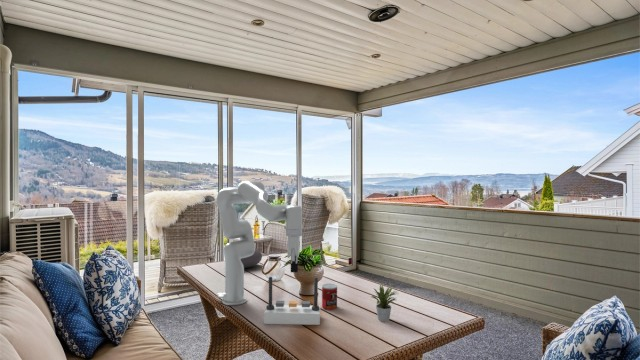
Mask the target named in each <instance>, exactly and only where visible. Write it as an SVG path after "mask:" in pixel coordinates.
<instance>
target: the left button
mask: <svg viewBox="0 0 640 360" xmlns="http://www.w3.org/2000/svg"><path fill="white" fill-rule="evenodd" d="M275 305H276V307H284V305H285V300H276V302H275Z"/></svg>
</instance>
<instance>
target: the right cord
mask: <svg viewBox="0 0 640 360" xmlns="http://www.w3.org/2000/svg"><path fill="white" fill-rule="evenodd" d="M318 283H319V279H318V277H314V278H313V305H311V306H312V310H313V311H319V310H320V311H321V306H320V305H318V300H319V299H318V297H319V295H318V290H319V288H318V286H319V284H318ZM319 306H320V307H319Z"/></svg>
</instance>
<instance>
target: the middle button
mask: <svg viewBox="0 0 640 360" xmlns="http://www.w3.org/2000/svg"><path fill="white" fill-rule="evenodd" d="M288 305H289V307H297V305H298V300H289V302H288Z"/></svg>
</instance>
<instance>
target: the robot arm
mask: <svg viewBox="0 0 640 360" xmlns="http://www.w3.org/2000/svg"><path fill="white" fill-rule="evenodd" d="M268 199H269V194H268V192H267V191H266V188H265V185H264V183H262V181H259V180H244V181H241V182H240V183H239V184H238V186H237V187H226V188H225V187H224V188H222V189H221V190H219V191H218V192H217V195H216V207H217V209H218V212H219V215H220V220H221V227H222V232H223V236H224V238H225V239H227V240H233V239H234V240H235V239H239V240H235V241H231V242H228V243H226V244H225V245H224V247H223V249H222V250H223V258H224V262H225V263H224V264H225V265H224V269H225V270H224V271H225V272H224V273H225V278H224V279H225V281H224V282H225V287H224V288H225V289H224V291H225V292H223V293H222V292H218V293H217V295H216V296H217V298H218V299H221V303H222V304H223V305H226V306H239V305H242V304H245V303H247V301H248V299H247V297H246V296H245V293H244V292H245V277H244V276H245V268H244V266H243V264H242V262H241V259H242V258H245V257H249V256H251V255H253V254H254V251H255V248H256V245H255V244H256V243H255V239H254V234H253V233H254V232H253V228H252V225H251V223H250V222H249V221H248V220H245V219H238V213H237V211H236V209H235V207H234V206H233V205H232V204H245V203H251V204H253V205H254V206H255V210H256V211H257V213H258V215H259V216H261V217H262V218H263V219H265V220H267V221H269V222H272V223H273V222H280V221H285V236H286V237H287V255H286V257H287V259H289V258H290V273H298V272H299V267H298V265H299V263H298V258H299V255H300V247H301V246H300V240H301V239H300V237H301V236H302V237H303V207H302V206H301V205H291V204H284V203H283V204H275V205H272V204H270V203H269V202H268Z"/></svg>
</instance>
